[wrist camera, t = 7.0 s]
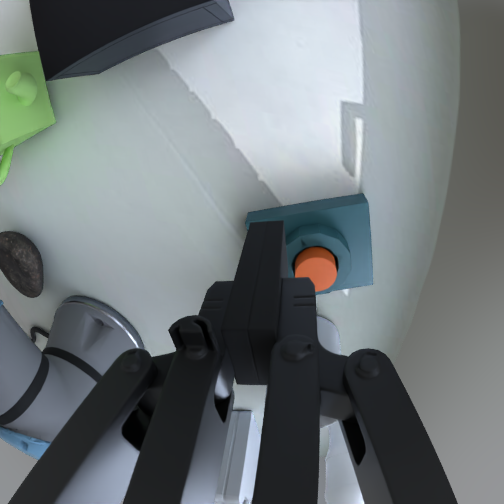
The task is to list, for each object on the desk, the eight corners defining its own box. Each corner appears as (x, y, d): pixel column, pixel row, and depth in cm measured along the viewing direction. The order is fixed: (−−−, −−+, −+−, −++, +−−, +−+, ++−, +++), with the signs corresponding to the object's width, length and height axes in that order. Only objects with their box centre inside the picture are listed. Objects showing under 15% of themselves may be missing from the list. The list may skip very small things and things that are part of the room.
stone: (68, 292, 39) (51, 314, 35) (23, 284, 40) (6, 303, 36) (43, 221, 33) (19, 241, 29) (-1, 222, 34) (-22, 239, 30)
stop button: (298, 282, 29) (298, 294, 27) (291, 249, 27) (291, 261, 26) (336, 276, 28) (338, 288, 27) (332, 243, 26) (334, 254, 25)
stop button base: (268, 286, 34) (265, 311, 31) (247, 212, 30) (242, 232, 26) (369, 272, 32) (376, 296, 28) (363, 193, 27) (372, 210, 24)
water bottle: (317, 403, 46) (313, 548, 25) (334, 379, 42) (337, 545, 21) (356, 407, 46) (361, 545, 25) (376, 384, 42) (390, 538, 21)
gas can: (263, 443, 56) (250, 549, 35) (240, 442, 57) (223, 546, 36) (253, 409, 49) (233, 545, 28) (225, 408, 50) (198, 540, 28)
